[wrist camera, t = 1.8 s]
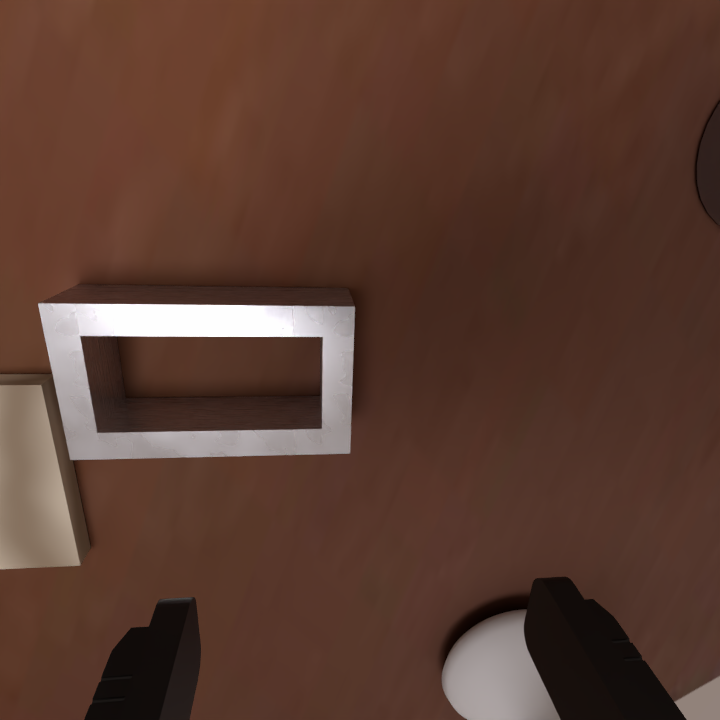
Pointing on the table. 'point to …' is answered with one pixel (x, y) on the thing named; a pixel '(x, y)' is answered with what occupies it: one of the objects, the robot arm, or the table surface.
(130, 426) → the steel link
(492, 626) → the flower in vase
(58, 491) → the beige plate with rod
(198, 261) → the table surface
